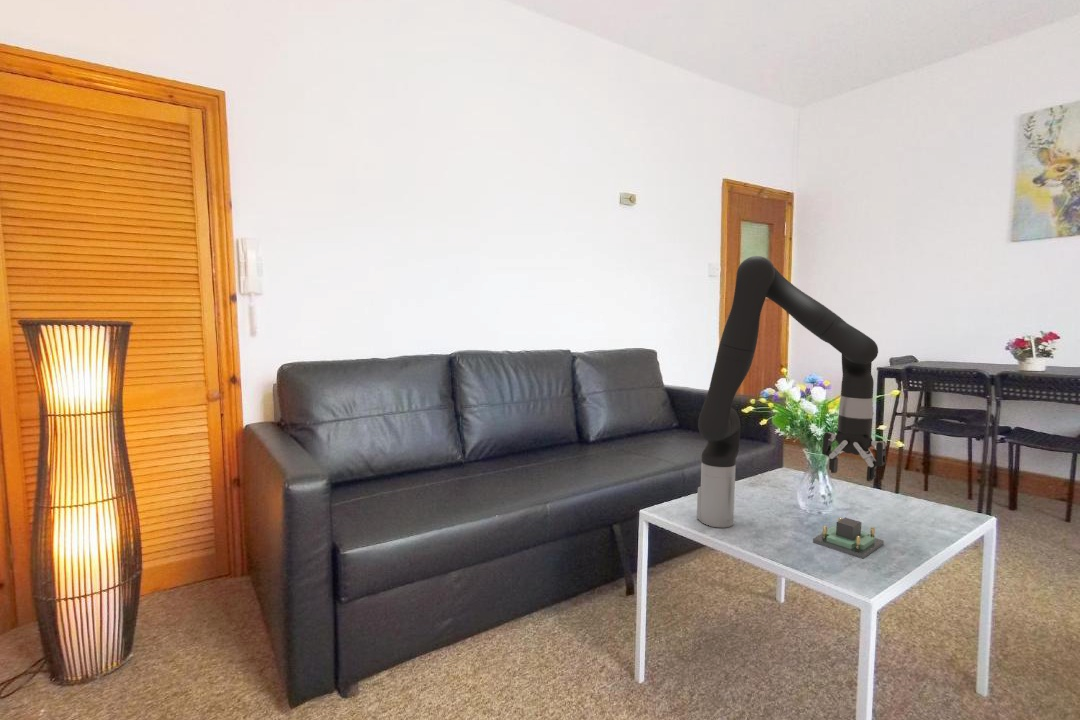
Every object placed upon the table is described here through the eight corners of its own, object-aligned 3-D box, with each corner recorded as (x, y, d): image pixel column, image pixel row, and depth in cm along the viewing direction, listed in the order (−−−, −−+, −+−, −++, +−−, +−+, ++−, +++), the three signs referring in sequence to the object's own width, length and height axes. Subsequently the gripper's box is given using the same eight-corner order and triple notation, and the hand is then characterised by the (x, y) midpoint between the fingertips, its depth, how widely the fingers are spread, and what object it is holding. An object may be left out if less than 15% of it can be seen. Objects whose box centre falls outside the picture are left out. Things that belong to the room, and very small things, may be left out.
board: (818, 538, 142) (819, 521, 142) (837, 528, 149) (838, 511, 149) (859, 552, 135) (861, 533, 134) (877, 540, 141) (878, 522, 141)
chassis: (812, 542, 143) (813, 525, 142) (834, 529, 151) (835, 513, 150) (862, 558, 133) (864, 540, 133) (883, 544, 142) (884, 527, 141)
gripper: (819, 411, 142) (816, 472, 144) (881, 420, 131) (876, 486, 133) (832, 408, 147) (829, 467, 148) (892, 417, 136) (888, 480, 137)
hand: (851, 476), depth 141 cm, fingers open, 8 cm apart
